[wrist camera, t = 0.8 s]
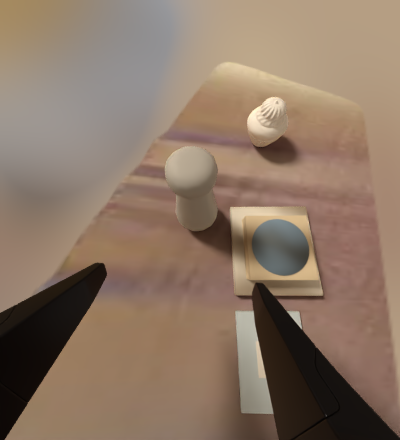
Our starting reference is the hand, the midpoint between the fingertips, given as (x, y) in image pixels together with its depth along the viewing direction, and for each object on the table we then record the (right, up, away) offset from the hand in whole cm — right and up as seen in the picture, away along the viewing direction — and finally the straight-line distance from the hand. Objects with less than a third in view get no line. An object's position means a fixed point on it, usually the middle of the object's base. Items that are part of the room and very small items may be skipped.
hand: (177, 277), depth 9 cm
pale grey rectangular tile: (+10, -13, +10) cm, 19 cm away
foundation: (+11, -1, +13) cm, 18 cm away
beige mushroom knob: (+1, +4, +15) cm, 16 cm away
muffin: (+12, +17, +19) cm, 28 cm away
